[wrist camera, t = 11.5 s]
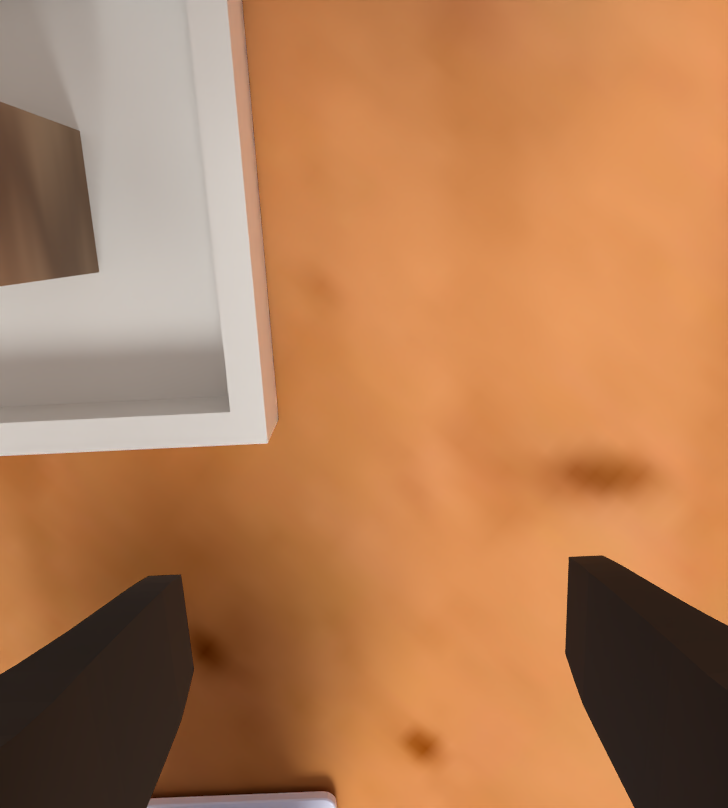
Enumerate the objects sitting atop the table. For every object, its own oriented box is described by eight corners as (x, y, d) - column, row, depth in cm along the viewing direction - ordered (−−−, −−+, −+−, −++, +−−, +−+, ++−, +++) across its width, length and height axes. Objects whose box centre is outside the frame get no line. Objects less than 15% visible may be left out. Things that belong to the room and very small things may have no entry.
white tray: (278, 419, 21) (267, 443, 19) (-141, 439, 21) (-205, 465, 19) (236, -69, 17) (215, -118, 15) (-268, -42, 18) (-367, -85, 15)
